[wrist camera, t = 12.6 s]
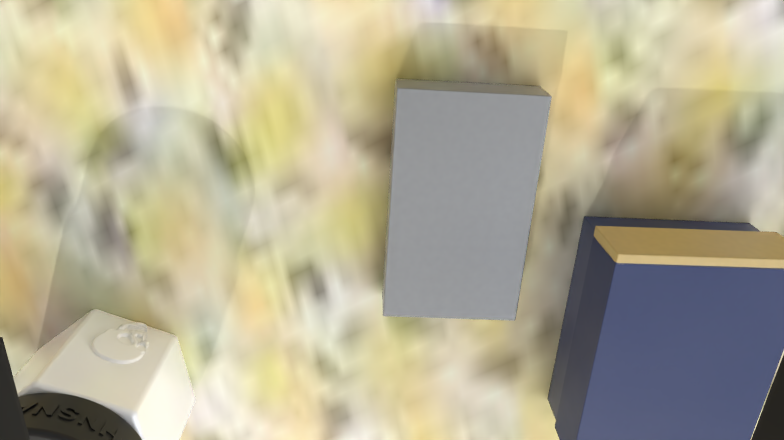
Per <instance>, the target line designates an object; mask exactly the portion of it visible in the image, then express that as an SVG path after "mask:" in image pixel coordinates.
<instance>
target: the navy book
mask: <svg viewBox="0 0 784 440" xmlns="http://www.w3.org/2000/svg"><path fill="white" fill-rule="evenodd" d="M783 350H784V237H783V236H781V235H780V234H778V233H777V232H757V231H729V230H701V229H672V228H644V227H615V226H596V227H595V231H594V235H593V240H592V245H591V250H590V255H589V260H588V265H587V270H586V275H585V280H584V285H583V290H582V295H581V300H580V304H579V309H578V314H577V319H576V324H575V329H574V334H573V339H572V344H571V349H570V354H569V359H568V364H567V369H566V374H565V379H564V384H563V388H562V393H561V398H560V403H559V408H558V413H557V418H556V423H555V429H556V431H557V434H558V436H559V439H560V440H750V439H751V436H752V434H753V431H754V428H755V425H756V423H757V420H758V417H759V415H760V412H761V409H762V406H763V404H764V401H765V398H766V396H767V393H768V390H769V388H770V385H771V382H772V379H773V377H774V374H775V371H776V369H777V366H778V363H779V360H780V358H781V355H782V352H783Z"/></svg>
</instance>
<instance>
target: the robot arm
mask: <svg viewBox="0 0 784 440" xmlns="http://www.w3.org/2000/svg"><path fill="white" fill-rule="evenodd" d="M0 440H30V438H29V434H28V430H27V427H26V423H25V419H24V416H23V412H22V408H21V405H20V401H19V397H18V393H17V390H16V386H15V382H14V379H13V375H12V371H11V368H10V364H9V360H8V357H7V353H6V349H5V345H4V342H3V338H2V337H0ZM752 440H784V356H783V358H782V361H781V363H780V366H779V369H778V371H777V374H776V377H775V379H774V382H773V384H772V387H771V390H770V392H769V395H768V398H767V400H766V403H765V405H764V408H763V411H762V413H761V416H760V419H759V421H758V424H757V426H756V429H755V432H754V434H753V437H752Z"/></svg>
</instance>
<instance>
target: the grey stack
mask: <svg viewBox="0 0 784 440" xmlns="http://www.w3.org/2000/svg"><path fill="white" fill-rule="evenodd" d="M551 98H552V97H551V95H549V94H548V93H547V92H546V91H545V90H544V89H542V88H541V87H540V86H527V85H508V84H490V83H471V82H452V81H433V80H414V79H395V93H394V109H393V126H392V143H391V159H390V176H389V192H388V209H387V226H386V242H385V259H384V276H383V292H382V299H383V316H396V317H427V318H457V319H487V320H515V318H516V312H517V306H518V300H519V294H520V288H521V282H522V275H523V269H524V263H525V257H526V251H527V245H528V239H529V233H530V226H531V220H532V214H533V208H534V202H535V196H536V190H537V183H538V177H539V171H540V165H541V159H542V153H543V147H544V141H545V134H546V128H547V122H548V116H549V110H550V104H551Z"/></svg>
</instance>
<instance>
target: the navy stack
mask: <svg viewBox="0 0 784 440" xmlns="http://www.w3.org/2000/svg"><path fill="white" fill-rule="evenodd" d="M596 226H615V227H644V228H672V229H701V230H729V231H757V232H761V231H759V230H758V229H757V228H755V227H754V226H752V225H751V224H750V223H732V222H709V221H685V220H661V219H637V218H613V217H589V216H585V217H584V220H583V225H582V230H581V235H580V240H579V245H578V250H577V255H576V260H575V265H574V270H573V275H572V280H571V285H570V290H569V295H568V300H567V305H566V310H565V315H564V320H563V325H562V330H561V335H560V340H559V345H558V350H557V355H556V360H555V365H554V370H553V375H552V380H551V385H550V390H549V395H548V401H549V403H550V406H551V409H552V411H553V414H554V416H555V419H556V418H557V413H558V408H559V403H560V398H561V393H562V388H563V384H564V379H565V374H566V369H567V364H568V359H569V354H570V349H571V344H572V339H573V334H574V329H575V324H576V319H577V314H578V309H579V304H580V300H581V295H582V290H583V285H584V280H585V275H586V270H587V265H588V260H589V255H590V250H591V245H592V240H593V235H594V231H595V227H596Z"/></svg>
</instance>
